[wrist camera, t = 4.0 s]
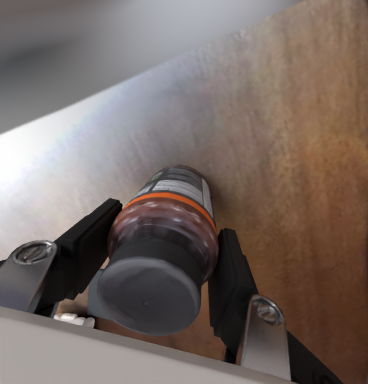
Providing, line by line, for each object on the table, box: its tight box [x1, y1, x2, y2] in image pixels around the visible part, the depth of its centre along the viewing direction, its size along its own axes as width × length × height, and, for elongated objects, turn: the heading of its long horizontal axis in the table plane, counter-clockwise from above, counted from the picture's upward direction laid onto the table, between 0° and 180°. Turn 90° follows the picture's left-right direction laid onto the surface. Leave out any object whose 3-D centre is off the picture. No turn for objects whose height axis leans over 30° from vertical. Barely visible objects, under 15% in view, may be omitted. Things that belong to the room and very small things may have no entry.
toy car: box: [53, 313, 95, 328], centre depth 25 cm, size 6×12×3 cm, turn 0°
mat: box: [88, 269, 114, 321], centre depth 23 cm, size 9×9×1 cm
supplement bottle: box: [97, 165, 219, 336], centre depth 12 cm, size 6×6×11 cm
